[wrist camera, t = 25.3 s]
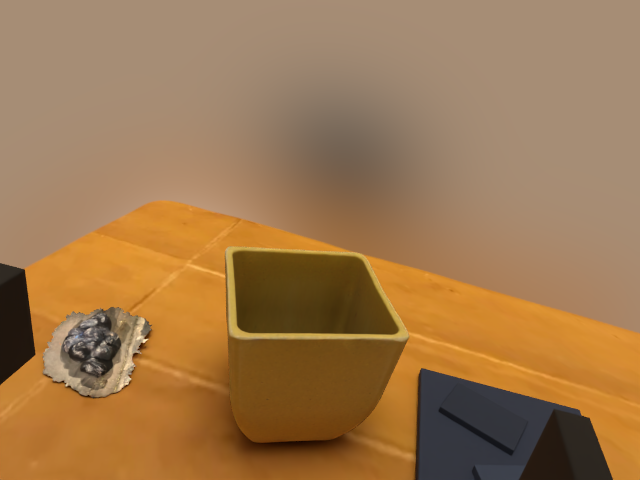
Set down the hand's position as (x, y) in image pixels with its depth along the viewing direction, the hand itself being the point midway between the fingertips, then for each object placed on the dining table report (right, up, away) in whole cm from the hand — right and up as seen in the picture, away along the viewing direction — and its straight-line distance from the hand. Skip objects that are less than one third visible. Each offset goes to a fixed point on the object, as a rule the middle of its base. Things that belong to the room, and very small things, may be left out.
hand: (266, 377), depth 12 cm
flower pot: (-1, -7, +18) cm, 20 cm away
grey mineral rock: (-13, -4, +20) cm, 24 cm away
